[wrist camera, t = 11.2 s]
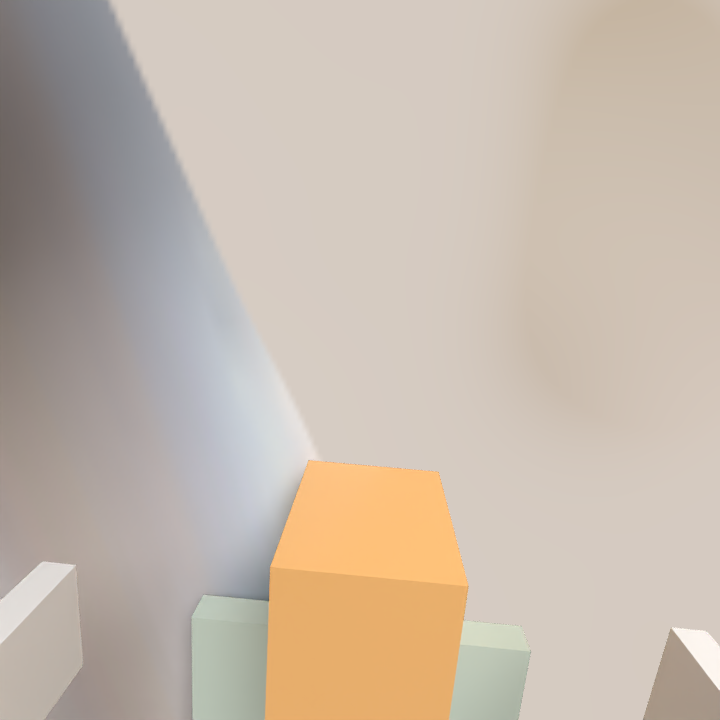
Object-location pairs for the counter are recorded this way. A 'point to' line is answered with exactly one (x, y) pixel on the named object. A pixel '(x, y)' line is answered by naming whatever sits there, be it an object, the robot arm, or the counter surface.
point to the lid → (358, 615)
